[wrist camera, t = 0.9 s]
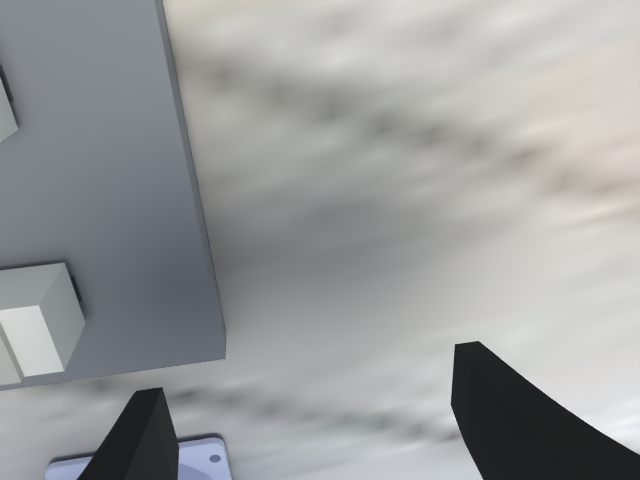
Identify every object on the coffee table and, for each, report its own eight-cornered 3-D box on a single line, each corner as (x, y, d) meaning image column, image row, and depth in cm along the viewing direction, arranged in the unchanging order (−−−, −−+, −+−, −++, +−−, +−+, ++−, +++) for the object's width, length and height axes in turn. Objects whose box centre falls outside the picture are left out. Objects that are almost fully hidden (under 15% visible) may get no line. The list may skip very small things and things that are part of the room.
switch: (85, 323, 18) (62, 376, 16) (-3, 334, 18) (-41, 390, 16) (64, 262, 17) (35, 310, 15) (-30, 274, 17) (-76, 324, 14)
